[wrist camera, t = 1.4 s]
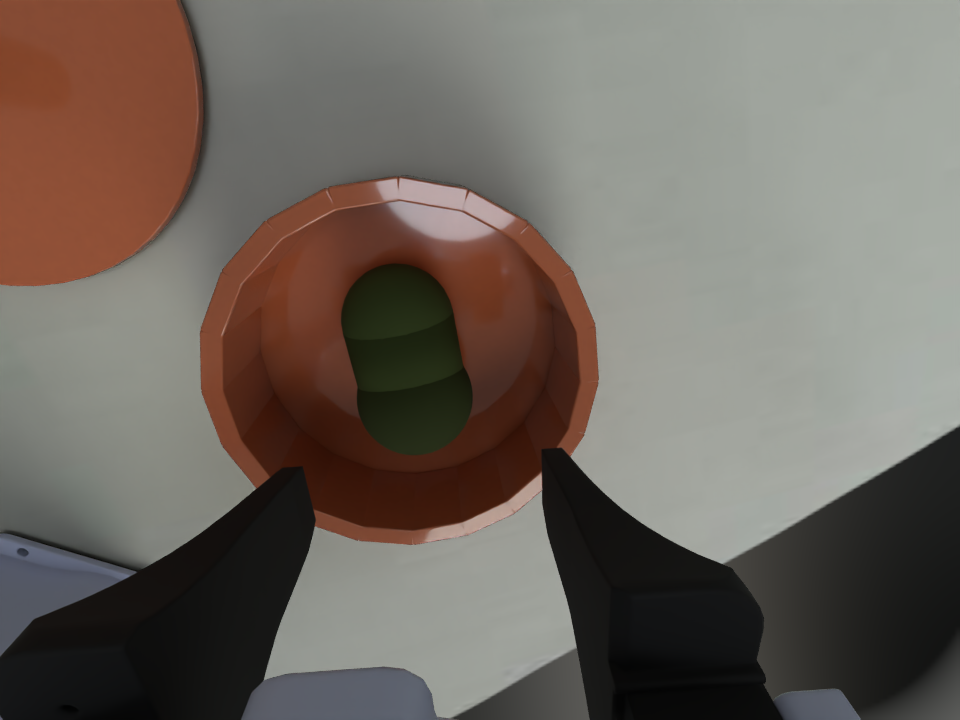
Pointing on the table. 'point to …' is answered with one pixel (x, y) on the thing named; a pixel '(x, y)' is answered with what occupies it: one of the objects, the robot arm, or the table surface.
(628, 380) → the table surface
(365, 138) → the table surface
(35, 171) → the lid
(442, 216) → the pot
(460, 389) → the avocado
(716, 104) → the table surface
